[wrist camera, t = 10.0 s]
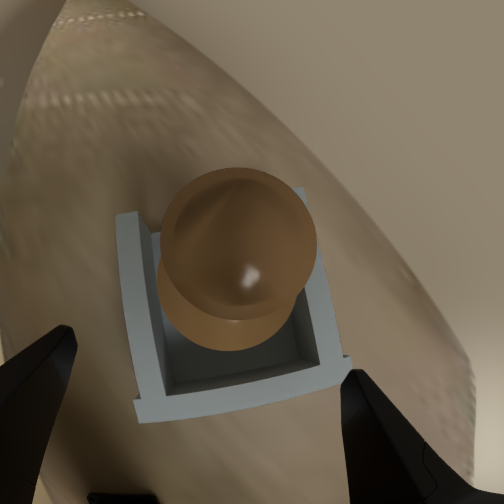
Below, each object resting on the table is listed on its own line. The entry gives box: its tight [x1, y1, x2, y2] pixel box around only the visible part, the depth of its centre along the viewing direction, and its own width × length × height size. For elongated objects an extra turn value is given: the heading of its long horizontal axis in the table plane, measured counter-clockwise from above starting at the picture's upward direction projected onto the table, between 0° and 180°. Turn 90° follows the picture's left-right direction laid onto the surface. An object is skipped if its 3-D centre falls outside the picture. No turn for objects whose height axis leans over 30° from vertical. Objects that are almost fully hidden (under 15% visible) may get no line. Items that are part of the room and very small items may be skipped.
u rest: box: [115, 187, 353, 424], centre depth 20 cm, size 12×13×6 cm
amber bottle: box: [156, 168, 317, 351], centre depth 14 cm, size 6×6×15 cm
